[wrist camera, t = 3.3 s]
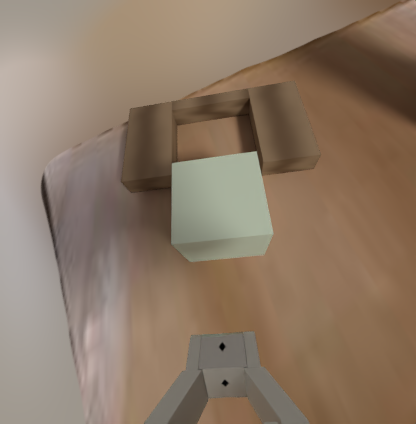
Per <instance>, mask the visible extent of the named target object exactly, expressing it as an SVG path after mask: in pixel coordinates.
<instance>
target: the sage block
mask: <svg viewBox="0 0 416 424" xmlns="http://www.w3.org/2000/svg"><path fill="white" fill-rule="evenodd" d="M272 236H273V229H272V224H271V220H270V215H269V210H268V205H267V200H266V195H265V190H264V185H263V180H262V175H261V170H260V165H259V160H258V155H257V151H254V152H247V153H240V154H233V155H226V156H219V157H212V158H205V159H198V160H191V161H184V162H177V163H172V220H171V245H172V246H173V247H175V248H176V249H177V250H178V251H179V252H180V253H181V254H182V255H183V256H184V257H185V258H186V259H187V260H188V261H189V262H195V261H205V260H216V259H226V258H237V257H248V256H258V255H264V254H265V252H266V250H267V247H268V245H269V243H270V241H271V238H272Z"/></svg>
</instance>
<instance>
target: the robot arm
mask: <svg viewBox="0 0 416 424" xmlns="http://www.w3.org/2000/svg"><path fill="white" fill-rule="evenodd" d="M244 343H245V344H244ZM222 397H248V400H249V401H250V403H251V405H252V407H253V408H254V410H255V412H256V413H257V415H258V417H259V418H260V420H261V422H262V423H263V424H309V422H308V419H307V418H306V417H305V416H304V415H303V413H302V412H301V411H300V410H299V409H298V407H297V406H296V405H295V404H294V402H293V401H292V400H291V399H290V398H289V396H288V395H287V394H286V393H285V392H284V390H283V389H282V388H281V387H280V385H279V384H278V383H277V382H276V381H275V379H274V378H273V377H272V376H271V375H270V373H269V372H268V371H267V370H266V368H265V367H261V365H260V360H259V354H258V348H257V343H256V337H255V333H254V331H252V332H234V333H222V334H204V335H191V338H190V344H189V351H188V358H187V365H186V370H185V371H182V372H181V374H180V375H179V376H178V378H177V379H176V380H175V382H174V383H173V384H172V386H171V387H170V389H169V390H168V391H167V393H166V394H165V395H164V397H163V398H162V399H161V401H160V402H159V403H158V405H157V406H156V408H155V409H154V410H153V412H152V413H151V414H150V416H149V417H148V418H147V420H146V421H145V423H144V424H197V422H198V420H199V418H200V416H201V414H202V412H203V410H204V408H205V406H206V404H207V402H208V398H222Z"/></svg>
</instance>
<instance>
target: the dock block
mask: <svg viewBox="0 0 416 424" xmlns="http://www.w3.org/2000/svg"><path fill="white" fill-rule="evenodd" d="M245 114H249V116H250V121H251V126H252V131H253V136H254V141H255V146H256V151H257V155H258V160H259V165H260V170H261V175H270V174H278V173H285V172H293V171H301V170H308V169H314V167H315V165H316V163H317V161H318V159H319V158H320V156H321V153H320V150H319V147H318V145H317V142H316V139H315V136H314V133H313V131H312V128H311V125H310V122H309V119H308V117H307V114H306V111H305V108H304V105H303V103H302V100H301V97H300V94H299V91H298V89H297V86H296V83H295V81H290V82H284V83H278V84H272V85H266V86H260V87H254V88H248V89H243V90H237V91H231V92H225V93H219V94H213V95H207V96H201V97H196V98H190V99H184V100H178V101H172V102H167V103H160V104H155V105H149V106H143V107H137V108H131V109H130V114H129V122H128V130H127V138H126V146H125V154H124V163H123V171H122V179H121V182H122V183H123V184H124V185H125V186H126V187H127V189H128V190H129V191H130V192H131V193H132V192H140V191H147V190H155V189H163V188H170V187H172V163H177V125H182V124H188V123H195V122H201V121H207V120H214V119H220V118H226V117H232V116H239V115H245Z"/></svg>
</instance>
